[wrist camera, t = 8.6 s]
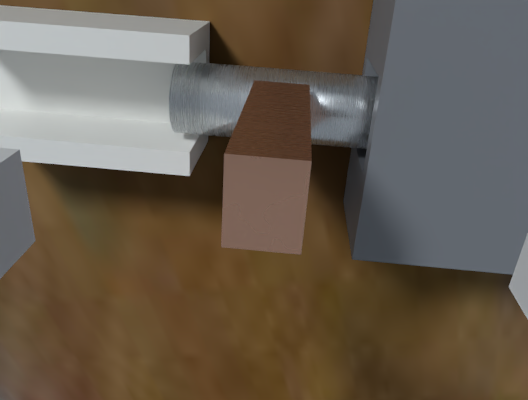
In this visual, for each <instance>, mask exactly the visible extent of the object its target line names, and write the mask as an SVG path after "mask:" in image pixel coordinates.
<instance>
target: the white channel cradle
mask: <svg viewBox="0 0 528 400" xmlns="http://www.w3.org/2000/svg"><path fill="white" fill-rule="evenodd" d="M209 54H210V21H198V20H185V19H172V18H159V17H146V16H133V15H120V14H107V13H94V12H81V11H68V10H55V9H42V8H29V7H16V6H3V5H0V148H9V149H20V154H21V160H22V161H26V162H37V163H48V164H59V165H71V166H82V167H93V168H104V169H115V170H126V171H138V172H149V173H160V174H171V175H182V176H190V175H191V173H192V171H193V169H194V167H195V165H196V163H197V161H198V159H199V158H200V156H201V154H202V152H203V150H204V148H205V146H206V144H207V142H208V135H198V134H187V133H175V132H174V131H173V130H172V127H171V123H170V116H169V91H170V82H171V76H172V72H173V68H174V65H175V64H186V65H190V64H191V63H192V62H202V63H209Z"/></svg>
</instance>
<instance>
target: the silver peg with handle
mask: <svg viewBox="0 0 528 400" xmlns="http://www.w3.org/2000/svg"><path fill="white" fill-rule="evenodd" d="M377 84H378V77H376V76H364V75H351V74H339V73H326V72H314V71H301V70H289V69H276V68H264V67H252V66H239V65H227V64H214V63H202V62H192V63H191V64H190V65H186V64H175V65H174V68H173V72H172V76H171V82H170V91H169V116H170V123H171V127H172V130H173V131H174V132H175V133H187V134H198V135H210V136H221V137H231V138H230V141H229V143H228V145H227V148H226V150H225V153H224V175H223V208H222V241H221V247H226V248H237V249H247V250H258V251H268V252H279V253H289V254H300V255H301V251H302V242H303V233H304V225H305V216H306V207H307V198H308V190H309V181H310V172H311V163H312V152H311V144H314V145H326V146H338V147H349V148H361V149H367V144H368V138H369V132H370V126H371V120H372V114H373V108H374V102H375V96H376V90H377Z"/></svg>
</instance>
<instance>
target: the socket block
mask: <svg viewBox="0 0 528 400" xmlns="http://www.w3.org/2000/svg"><path fill="white" fill-rule="evenodd" d="M362 75H364V76H376V77H378V84H377V90H376V96H375V102H374V108H373V114H372V120H371V126H370V132H369V138H368V144H367V149H361V148H351V154H350V160H349V167H348V174H347V180H346V187H345V194H344V200H343V203H344V209H345V216H346V223H347V229H348V236H349V242H350V249H351V256H352V259H353V260H364V261H374V262H385V263H395V264H406V265H417V266H427V267H438V268H448V269H459V270H469V271H480V272H490V273H501V274H511V275H513V273H514V270H515V267H516V264H517V262H518V259H519V256H520V253H521V250H522V247H523V245H524V242H525V239H526V236H527V233H528V0H373V7H372V14H371V20H370V27H369V34H368V40H367V47H366V54H365V60H364V67H363V74H362Z"/></svg>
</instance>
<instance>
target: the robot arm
mask: <svg viewBox="0 0 528 400" xmlns="http://www.w3.org/2000/svg"><path fill="white" fill-rule="evenodd" d="M34 242H35V236H34V230H33V224H32V218H31V213H30V207H29V201H28V195H27V189H26V184H25V178H24V172H23V166H22V160H21V154H20V149H9V148H0V278H1V277H2V276H3V275H4V274H5V273H6V272H7V271H8V270H9V269H10V268H11V267H12V266H13V264H14V263H15V262H16V261H17V260H18V259H19V258H20V257H21V256H22V255H23V254H24V253H25V251H26V250H27V249H28V248H29V247H30V246H31V245H32V244H33V243H34ZM509 289H510V290H511V292H512V294H513V295H514V297H515V299H516V300H517V302H518V304H519V306H520V307H521V309H522V311H523V312H524V314H525V316H526V317H527V319H528V233H527V236H526V239H525V242H524V245H523V247H522V250H521V253H520V256H519V259H518V262H517V264H516V267H515V270H514V273H513V276H512V279H511V281H510V284H509Z"/></svg>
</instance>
